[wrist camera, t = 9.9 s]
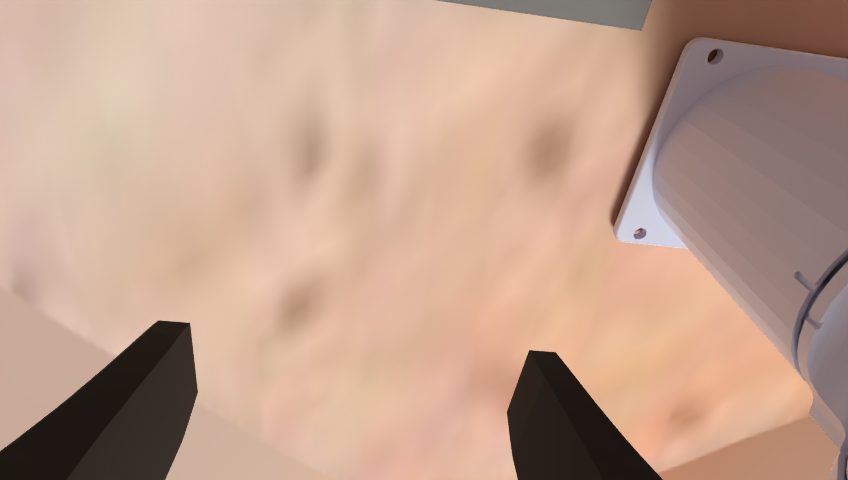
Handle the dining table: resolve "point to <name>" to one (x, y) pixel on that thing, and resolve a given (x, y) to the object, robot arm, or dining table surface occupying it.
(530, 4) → the switch panel
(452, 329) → the dining table surface
